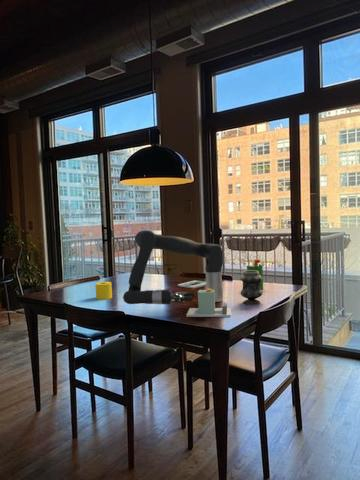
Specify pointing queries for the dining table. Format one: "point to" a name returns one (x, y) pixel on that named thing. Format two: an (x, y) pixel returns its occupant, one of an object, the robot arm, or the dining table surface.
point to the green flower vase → (257, 268)
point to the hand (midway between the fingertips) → (193, 296)
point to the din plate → (218, 313)
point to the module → (206, 301)
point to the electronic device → (187, 284)
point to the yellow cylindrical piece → (103, 290)
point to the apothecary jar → (251, 287)
